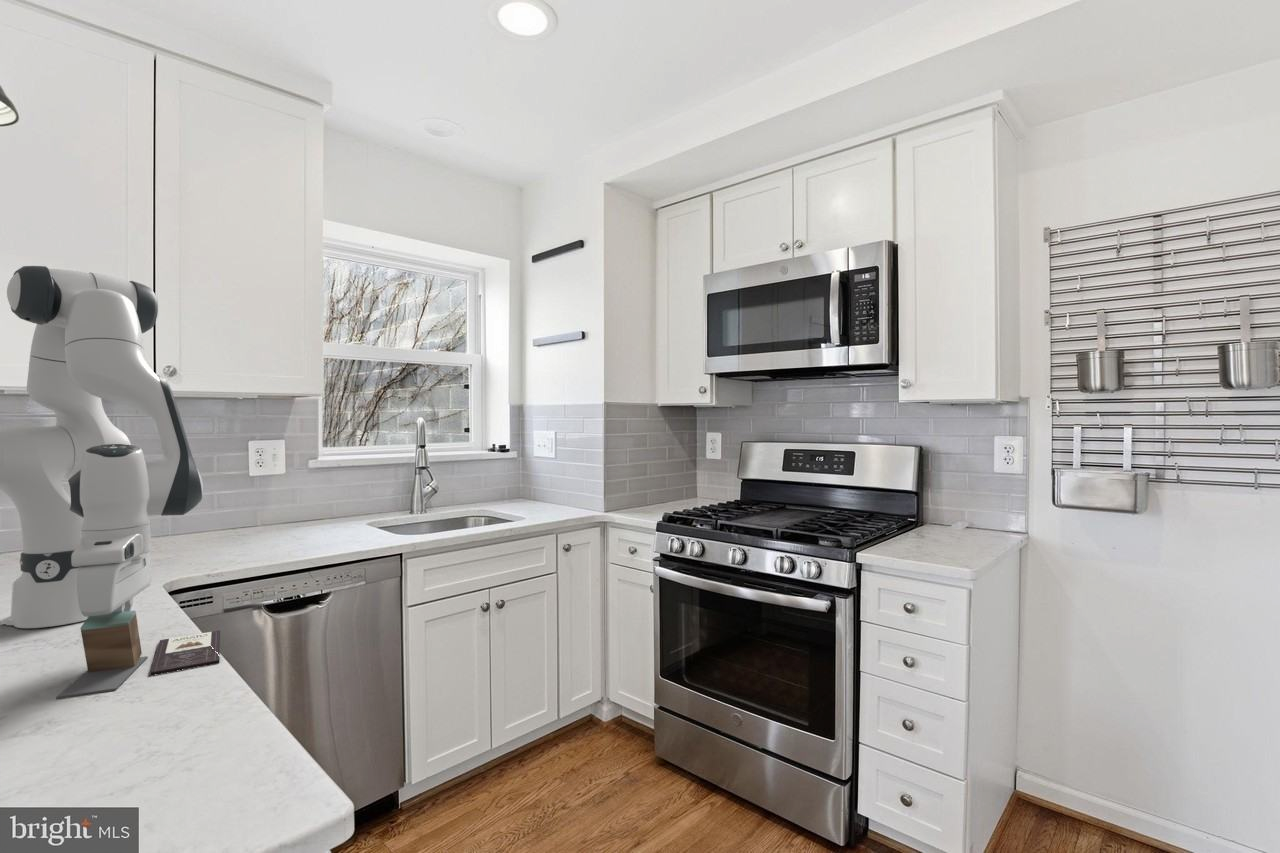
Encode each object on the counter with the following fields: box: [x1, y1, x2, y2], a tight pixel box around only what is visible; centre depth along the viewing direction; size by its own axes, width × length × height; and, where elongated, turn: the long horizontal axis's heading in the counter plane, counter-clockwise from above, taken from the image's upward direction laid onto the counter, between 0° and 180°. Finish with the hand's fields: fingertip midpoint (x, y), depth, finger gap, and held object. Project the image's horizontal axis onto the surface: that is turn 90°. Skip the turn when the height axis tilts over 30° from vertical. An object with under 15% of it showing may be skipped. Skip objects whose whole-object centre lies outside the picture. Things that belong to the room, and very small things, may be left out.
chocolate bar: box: [149, 630, 221, 677], centre depth 111 cm, size 9×1×18 cm
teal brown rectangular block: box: [80, 610, 143, 673], centre depth 103 cm, size 4×6×8 cm, turn 112°
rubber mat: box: [55, 655, 149, 700], centre depth 101 cm, size 14×7×1 cm, turn 22°
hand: (120, 628), depth 106 cm, fingers closed
